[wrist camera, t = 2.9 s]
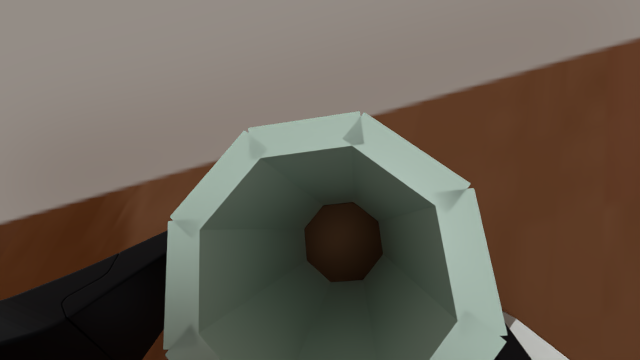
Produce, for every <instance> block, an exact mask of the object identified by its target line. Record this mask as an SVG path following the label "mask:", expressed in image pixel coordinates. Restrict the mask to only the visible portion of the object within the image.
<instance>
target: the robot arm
mask: <svg viewBox="0 0 640 360" xmlns="http://www.w3.org/2000/svg"><path fill="white" fill-rule="evenodd" d="M167 238H168V230H167V231H165V232H163V233H161V234H159V235H156V236H154V237H152V238H150V239H148V240H146V241H143V242H141V243H139V244H137V245H135V246H132V247H130V248H128V249H126V250H124V251H122V252H120V253H117V254H115V255H113V256H111V257H108V258H106V259H104V260H102V261H99V262H97V263H95V264H93V265H90V266H88V267H86V268H83V269H81V270H78V271H76V272H74V273H71V274H69V275H66V276H64V277H61V278H59V279H56V280H53V281H51V282H48V283H46V284H43V285H41V286H38V287H36V288H33V289H31V290H28V291H26V292H23V293H20V294H18V295H15V296H13V297H10V298H7V299H4V300H0V360H142V359H143V358H144V356H145V355H146V353H147V352H148V350H149V349H150V348H151V346H152V345H153V343H154V342H155V341H156V339H157V338H158V336H159V335H160V333H161V332H162V331H163V329H164V319H165V292H166V265H167ZM505 326H506V330H507V335H505V336H500V337H502V338H503V339H504V340H505V341H506V343H505V345H504V346H503V347H502V349H501V350H500V352H499V353H498V354H497V356H496V357H495V359H494V360H532V359H531V357H530V356H529V355H528V353H527V352H526V351H525V349H524V348H523V346H522V345H521V344H520V342H519V341H518V340H517V338H516V337H515V335H514V334H513V333H512V331H511V330H510V329H509V327H508V326H507V324H506V323H505Z"/></svg>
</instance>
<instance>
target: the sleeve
mask: <svg viewBox="0 0 640 360" xmlns="http://www.w3.org/2000/svg"><path fill="white" fill-rule="evenodd" d="M469 185H470V183H469V182H467V181H466V180H465V179H463V178H462V177H460V176H459V175H457V174H456V173H454V172H453V171H451V170H450V169H448V168H447V167H445V166H444V165H442V164H441V163H439V162H438V161H436V160H435V159H433V158H432V157H430V156H429V155H427V154H426V153H424V152H423V151H421V150H420V149H418V148H417V147H415V146H414V145H412V144H411V143H409V142H408V141H406V140H405V139H403V138H402V137H400V136H399V135H398V134H396V133H395V132H393V131H392V130H390V129H389V128H387V127H386V126H384V125H383V124H381V123H380V122H378V121H377V120H375V119H374V118H372V117H371V116H369V115H368V114H366V113H365V112H364V113H363V115H362V116H361V117H360V112H359V111H358V112H351V113H345V114H338V115H331V116H325V117H318V118H312V119H305V120H299V121H292V122H285V123H279V124H272V125H265V126H258V127H252V128H248V133H247V132H246V131H243V132H242V134H241V135H240V136H239V137H238V138H237V140H236V141H235V142H234V143H233V144H232V145H231V146H230V147H229V149H228V150H227V151H226V152H225V153H224V155H223V156H222V157H221V158H220V159H219V160H218V161H217V163H216V164H215V165H214V166H213V167H212V168H211V170H210V171H209V172H208V173H207V174H206V175H205V177H204V178H203V179H202V180H201V181H200V182H199V184H198V185H197V186H196V187H195V188H194V189H193V191H192V192H191V193H190V194H189V195H188V196H187V198H186V199H185V200H184V201H183V202H182V203H181V205H180V206H179V207H178V208H177V209H176V210H175V212H174V213H173V214H172V215H171V216H170V218H171V219H172V220H173V221H168V238H167V265H166V292H165V319H164V346H163V350H166V349H169V350H168V352H167V353H166V354H165V356H166V357H167V358H168V359H169V360H494V359H495V357H496V356H497V354H498V353H499V352H500V350H501V349H502V347H503V346H504V345H505V343H506V341H505V340H504V339H503V338H502V337H500V336H505V335H507V330H506V326H505V321H504V317H503V313H502V308H501V304H500V300H499V295H498V291H497V287H496V282H495V278H494V274H493V269H492V265H491V260H490V256H489V252H488V247H487V243H486V239H485V234H484V230H483V226H482V221H481V217H480V212H479V208H478V204H477V199H476V195H475V191H474V188H472V189H467V188H468V187H469ZM349 202H354V203H355V204H357V205H358V206H359V207H360V208H362V209H363V210H364V211H366V212H367V213H368V214H369V215H371V216H372V217H373V218H374V219H376V220H377V221H378V222H379V229H380V236H381V244H382V251H383V255H382V256H381V257H380V259H379V260H378V261H377V263H376V264H375V265H374V266H373V268H372V269H371V270H370V272H369V273H368V274H367V275H366V277H365V278H364V279H363V280H355V281H341V282H330V281H329V280H328V279H327V278H326V277H324V276H323V275H322V274H321V273H320V272H319V271H318V270H317V269H316V268H315V267H313V266H312V265H311V264H310V263H309V262H308V261H307V257H306V245H305V232H304V229H305V227H306V226H307V225H308V224H309V222H310V221H311V220H312V219H313V217H314V216H315V215H316V214H317V212H318V211H319V210H320V209H321V208H322V206H323V205H330V204H340V203H349Z"/></svg>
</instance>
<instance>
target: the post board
mask: <svg viewBox="0 0 640 360" xmlns="http://www.w3.org/2000/svg"><path fill="white" fill-rule="evenodd" d="M503 317H504V321H505V323H506V324H507V326H508V327H509V329H510V330H511V331H512V333H513V334H514V335H515V337H516V338H517V340H518V341H519V342H520V344H521V345H522V346H523V348H524V349H525V351H526V352H527V353H528V355H529V356H530V357H531V359H532V360H569V359H567V358H566V357H565V356H564V355H562V354H561V353H560V352H558V351H557V350H556V349H555V348H553V347H552V346H551V345H549V344H548V343H547V342H546V341H544V340H543V339H542V338H540V337H539V336H538V335H537V334H535V333H534V332H533V331H531V330H530V329H529V328H528V327H526V326H525V325H524V324H522V323H521V322H520V321H519V320H517V319H516V318H514V317H512V316H510V315H509V314H507V313H505V312H503Z"/></svg>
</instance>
